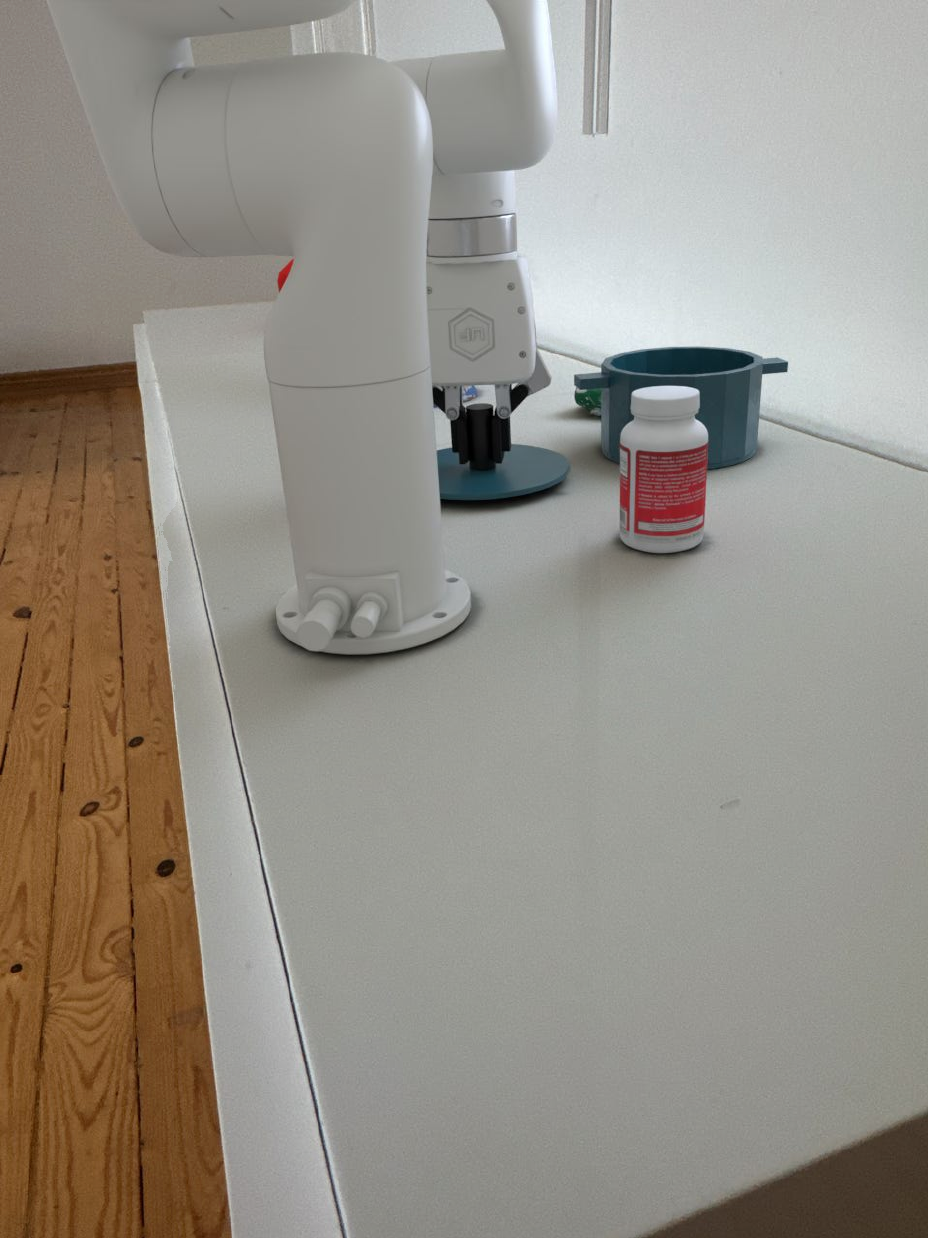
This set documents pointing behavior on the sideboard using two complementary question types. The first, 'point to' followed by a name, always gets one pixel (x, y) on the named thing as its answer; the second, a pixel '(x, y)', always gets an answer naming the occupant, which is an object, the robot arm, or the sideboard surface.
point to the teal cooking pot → (713, 371)
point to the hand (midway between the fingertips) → (482, 457)
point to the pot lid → (496, 465)
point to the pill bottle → (663, 471)
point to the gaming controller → (589, 399)
